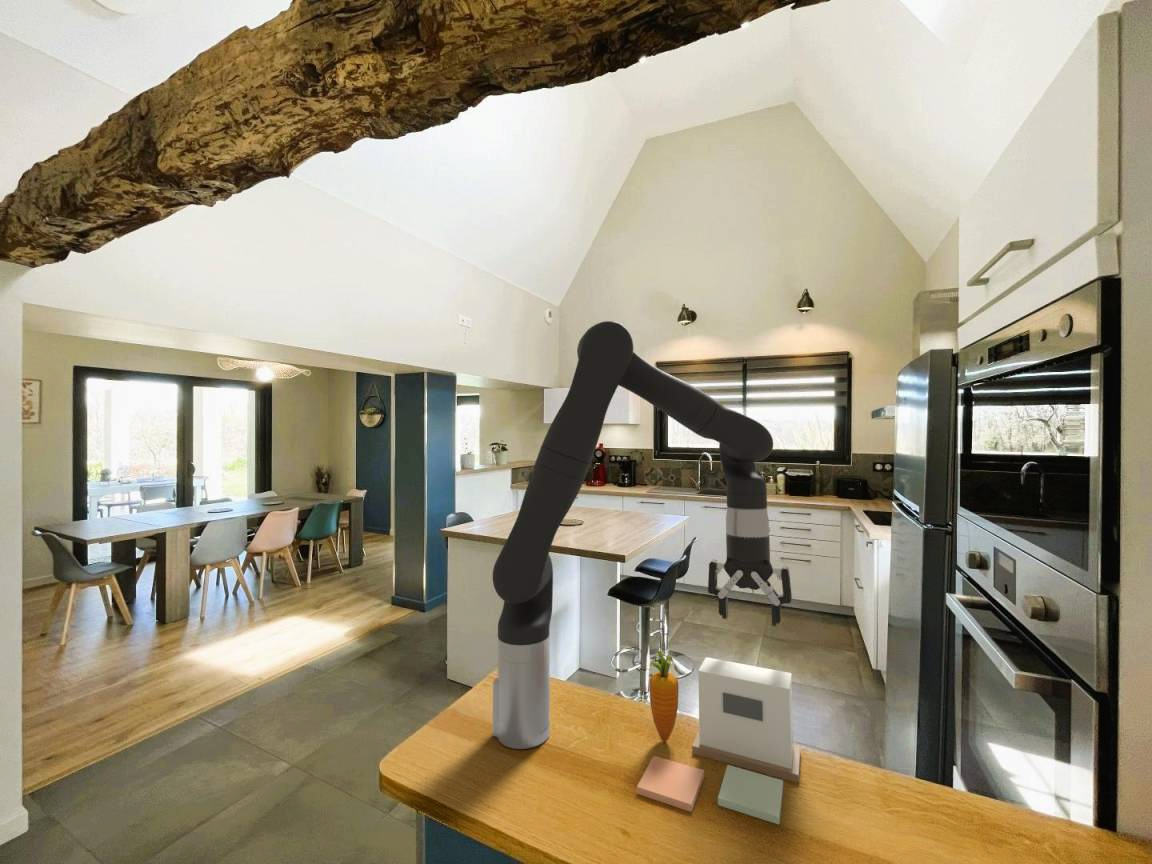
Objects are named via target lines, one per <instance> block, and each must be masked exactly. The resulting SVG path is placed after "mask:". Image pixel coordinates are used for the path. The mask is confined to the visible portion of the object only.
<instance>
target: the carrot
mask: <svg viewBox="0 0 1152 864" xmlns="http://www.w3.org/2000/svg"><path fill="white" fill-rule="evenodd" d="M656 653H657V655H658V659H659V660H660V661H653V662H652V666H654V667H655V668H657V670H658V671H655V673H653V674H652V675H651V676H650V677H649V681H648V682H649V684H648V685H649V701H650V709H651V714H652V719H653V723H654V726H655V729H656V732H657V734H658V735H659V738H660V739H661V740H660V741H662V742H663V743H666V742H668V740H669V739H670V737H671V735H672V733H673V730H674V727H675V725H676V721H677V715H678V708H679V681H678V679H677V677H676V676H675V675H674V674H673V673H672V672H669V671H670V667H671V656H670V655H669V654H668V655H666V661H665V657H664V654H663V652H662V650H660V649H658V650H657V652H656Z"/></svg>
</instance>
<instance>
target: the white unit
mask: <svg viewBox="0 0 1152 864" xmlns="http://www.w3.org/2000/svg"><path fill="white" fill-rule="evenodd" d="M697 674H698V722H699V723H698V725H699V726H698V727H699V728H698V731H697V734H696V736H695V737H694V738H695V739H694V740H693V743H692V744H691V745H692V746H691V752H692V754H693V755H697V756H701V757H704V758H708V759H711V760H715V761H718V762H721V763H725V764H727V765H731V766H735V767H738V768H742V769H743V768H744V769H745V770H749V771H752V772H756V773H759V774H763V775H766V776H770V777H771V776H772V777H774V778H777V779H781V780H786V781H789V782H793V783H796V784H799V781H800V767H801V764H800V763H801V745H798V744H795V743H794V728H793V727H794V726H793V725H794V724H793V723H794V720H793V719H794V718H793V716H794V715H793V681H792V679H793V678H792V677H793V676H792V672H787V671H782V670H777V669H772V668H771V669H770V668H765V667H761V666H755V665H750V664H746V663H739V662H733V661H729V660H724V659H718V658H713V657H712V658H711V657H707V656H705V658H704V660H703V662H702V663H701V665H700V667H699V669H698V673H697ZM792 745H794V746H797V747H793V746H792ZM798 747H800V748H798Z"/></svg>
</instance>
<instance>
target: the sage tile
mask: <svg viewBox="0 0 1152 864" xmlns="http://www.w3.org/2000/svg"><path fill="white" fill-rule="evenodd" d="M783 792H784V779H781V778H777V777H774V776H772V777H771V776H770V775H767V774H763V773H759V772H756V771H752V770H749V769H745V768H744V769H743V768H742V767H738V766H735V765H731V764H727V765H726V768H725V773H724V776H723V780H722V782H721V786H720V789H719V792H718V796H717V806H720V807H723V808H726V809H729V810H732V811H736V812H738V813H742V814H744V815H748V816H751V817H755V818H757V819H760V820H763V821H765V822H769V823H773V824H776V825H778V826H779V825H780V824H781V823H780V822H781V815H782V814H781V811H782V805H783V802H782V801H783V794H784V793H783Z"/></svg>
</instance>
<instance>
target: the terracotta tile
mask: <svg viewBox="0 0 1152 864" xmlns="http://www.w3.org/2000/svg"><path fill="white" fill-rule="evenodd" d="M704 778H705V770H704V769H700V768H698V767H693V766H691V765H686V764H683V763H681V762H678V761H677V762H676V761H674V760H670V759H668V758H667V759H666V758H664V757H660V756H656V755H653V756H652V758H651V760H650V762H649V763H648V765H647V767H646V769H645V771H644V773H643V774H642V777H641V778H640V780H639V782H638V784H637V786H636V794H637V795H641V796H643V797H645V798H649V799H651V800H655V801H657V802H661V803H663V804H667V805H670V806H672V807H676V808H678V809H682V810H684V811H687V812H690V813H692V812H693V810H694V808H695V804H696V801H697V799H698V796H699V793H700V790H701V787H702V784H703V782H704Z"/></svg>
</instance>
